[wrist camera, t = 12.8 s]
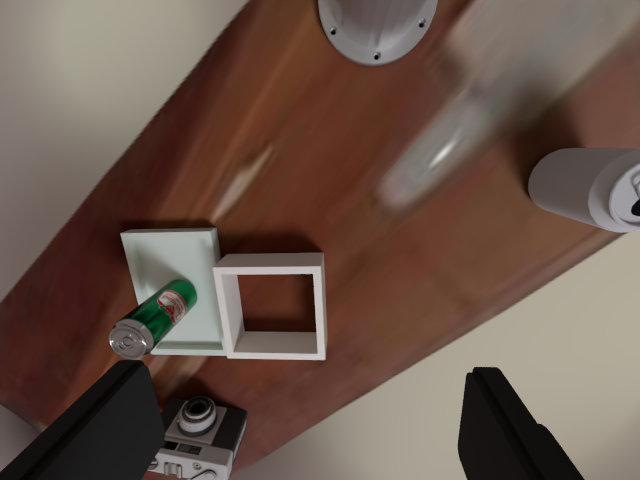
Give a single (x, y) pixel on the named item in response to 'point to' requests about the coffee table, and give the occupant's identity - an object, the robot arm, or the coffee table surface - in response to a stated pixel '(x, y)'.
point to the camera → (199, 439)
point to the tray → (184, 264)
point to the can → (590, 186)
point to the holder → (270, 342)
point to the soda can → (152, 319)
